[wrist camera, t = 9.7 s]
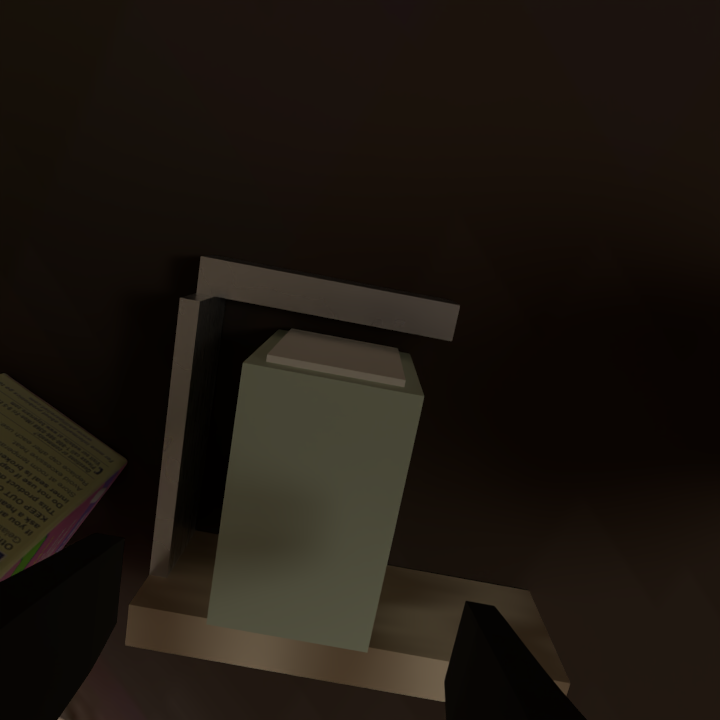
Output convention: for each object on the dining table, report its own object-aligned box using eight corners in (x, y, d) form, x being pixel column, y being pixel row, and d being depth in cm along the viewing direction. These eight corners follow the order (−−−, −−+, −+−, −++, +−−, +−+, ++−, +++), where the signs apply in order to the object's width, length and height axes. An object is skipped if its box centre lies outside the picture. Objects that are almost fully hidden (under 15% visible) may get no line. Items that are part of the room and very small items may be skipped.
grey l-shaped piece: (453, 300, 18) (468, 311, 16) (393, 565, 21) (396, 619, 18) (214, 255, 18) (184, 257, 15) (181, 527, 21) (149, 574, 18)
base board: (528, 590, 21) (570, 683, 16) (519, 622, 21) (557, 721, 17) (181, 527, 21) (129, 604, 16) (177, 560, 21) (125, 645, 17)
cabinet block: (410, 347, 19) (426, 389, 14) (368, 547, 21) (367, 652, 15) (280, 323, 19) (243, 354, 14) (249, 525, 21) (205, 624, 15)
